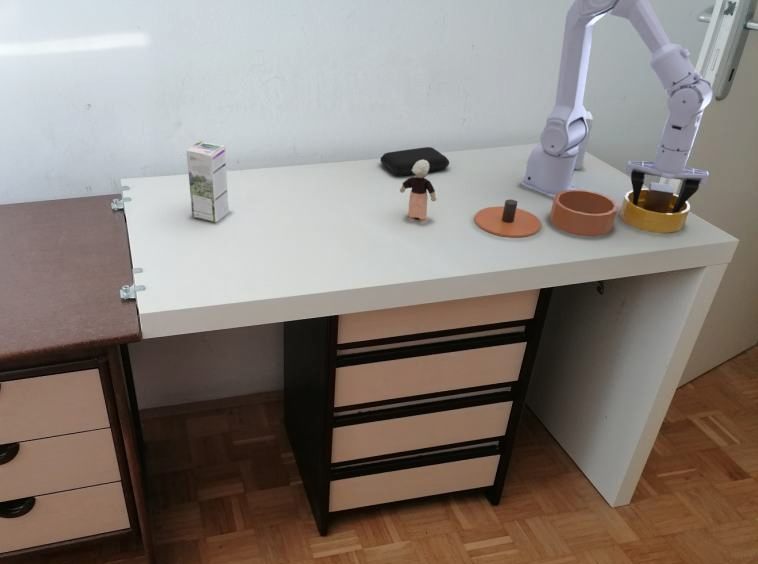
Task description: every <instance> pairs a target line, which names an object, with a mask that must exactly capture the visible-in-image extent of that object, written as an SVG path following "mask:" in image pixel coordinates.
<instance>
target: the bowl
mask: <svg viewBox="0 0 758 564" xmlns="http://www.w3.org/2000/svg"><path fill="white" fill-rule="evenodd" d="M648 189H649V188H642V189H641V192H640V195H639V199H638V204H637V206H636V205H634V204H633V189H631V190H628V191H626V193H625V195H624V197H623V201H622V204H621V206H620V207H621V208H620V211H619V217H620V218H621V220H622V221H623V222H624V223H626V224H627V225H629V226H631V227H633V228H635V229H639V230H641V231H647V232H651V233H661V234H671V233H676V232H679V231H680V230H683V229H684V226H685V224H686V221H687V218H688V215H689V213H690V209H691V204H690V203H689V201H688V200H687V201H686V202H685V203H684V205H683V206H682V208H681V209H680V211H679V212H678V213H673V208H674V205H675V203H676V201H677V198H678V196H679V194H675V193H673V196H672V199H671V202H670V205H669V208H668V211H667V213H658V212H653V211H648V210H645V209H643V205H644V201H645V198H646V195H647V192H648Z"/></svg>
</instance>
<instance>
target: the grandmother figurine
mask: <svg viewBox="0 0 758 564" xmlns="http://www.w3.org/2000/svg"><path fill="white" fill-rule="evenodd" d="M429 168H430V167H429V163H428V161H426V160H419V161H418V162H416V163H415V165H414V166H413V169H412V172H413V173H415V174H414V175H415V176H411V177H409V178H407V179H406V180H404V181H403V182H402V185H401V187H400V188H399V193H405V192H406V190H407V189H411V190H410V194H409V198H408V210H407V211H408V213H407V215H408V219H409V220H414V219H416V218H417V219H418V221H419V222H426V221H429V219H430V218H429V217H428V216H427V214H428V194H429V196H430V201H432V202H436V201H437V196H436V193H435V192H436V189H435V187H434V186H433V184H432V182H431V181H430V180H429V179H427V178H426V177H427V176H428V174H429V172H428V171H429Z"/></svg>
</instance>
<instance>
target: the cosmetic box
mask: <svg viewBox="0 0 758 564" xmlns="http://www.w3.org/2000/svg"><path fill="white" fill-rule="evenodd" d="M585 118H586V123H587V126H588V133H587V136H586V138H585V139H584V140H583V141H582V142H581V143H579V146H578V154H577V159H576V163H575V167H574V170H581V169H582V166H583V163H584V159H585V155H586V150H587V147H588V142H589V139H590V134H591V131H592V128H593V123H594V117H593V115H592V113H591V111H587V110H586V117H585Z"/></svg>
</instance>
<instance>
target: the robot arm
mask: <svg viewBox="0 0 758 564" xmlns="http://www.w3.org/2000/svg"><path fill="white" fill-rule="evenodd" d="M609 12H610V13H609ZM608 13H609V15H611V16H615V17H618V18H622V19H625V20H628V21H629V23H630V24H631V26H632V27H633V28H634V30H635V31H636V33H637V34H638V35H639V37H640V39H641V40H642V42H643V43H644V45H645V46H646V48H647V49H648V50H649V52H650V54H651V58H650V62H649V66H650V69H652V71H653V73H654V75H655V76H656V78H657V79H658V81H659V83H660V85H661V87H662V88H663V89H664V91H665V93H666V95H668V98H667V109H668V111H669V112H668V115H667V119H666V120H665V123H664V127H663V131H662V134H661V137H660V140H659V143H658V146H657V149H656V153H655V156H654V158H653V159H654V160H653V161H640V160H639V161H637V160H628V162H627V166H626V169H625V170H626V171H625V173H626V174H628V175H629V174H630V181H631V187H632V190H633V204H634V205H636V206H637V204H638V199H639V195H640V192H641V189H643V186H644V183H645V178H646V176H653V177H658V178H659V177H660V178H662V179H669V180H673V179H674V180H680V181H682V183H681V186H680V189H679V192H678V198H677V201H676V203H675V205H674V208H673V213H678V212H679V211H680V209H681V208H682V206H683V205H684V203H685V202H686V201H687V202H688V200H690V198H691V197H692V196H693V195H695V193H697V192H698V190H699V188H700V185H706V184H707V181H708V178H709V171H706V170H701V169H696V168H693V167H689V166H686V165H687V162H688V159H689V156H690V153H691V151H692V148H693V145H694V141H695V139H696V135H697V133H698V131H699V127H700V122H701V119H702V116H703V113H704V111H703V109H705V108H706V107H707V106H708V105H709V104H710V103H711V101H712V99H713V93H714V92H713V88H712V85H711V82H710V81H709V80H708V79H705V78H703V76H702V74H701V73H700V72H699V73H698V72H697V71H696V68H695V67H694V65H693V63H692V61H691V60H690V58H689V57H688V56H690V55H691V53H690V51H689V49H688V48H683V47H682V45H681V44H679V43H678V44H677V43H673V42H671V41H670V39H669V37H668V35H667V34H666V33H667V32H665V29H664V28H663V26H662V24H661V22H660V20H659V17H658V16H657V14H656V12H655V10H654V8H653V7H652V4H651V2H650V0H574V1H573V2H572V4H571V6H570V7H569V9H568V11H567V12H566V16H565V22H564V23H565V24H564V32H563V38H562V39H563V40H562V47H561V56H560V65H559V71H558V79H557V86H556V88H557V89H556V93H555V94H556V95H555V102H554V106H553V108H552V110H551V111H550V113H549V114H548V116H547V118H546V124H545V127H544V128H543V130H542V131H541V134H540V138H539V139H540V140H539V141H540V144H537V145H536V146H534V147H533V149H532V150H531V151H530V154H529V156H528V159H527V163H526V167H525V168H526V169H525V173H524V179H523V182H521V185H522V186H525V187H528V188H530V189H532V190H535V191H537V192H540V193H542V194H545V195H547V196H549V197H552V198H554V197H555V196H556V194H557V193H560V192H562V191H566V190H578V188H577V187H574V186H572V185H571V182H572V178H573V175H574V170H575V169H574V167H575V163H576V159H577V154H578V146H579V143H581V142H582V141H583V140H584V139H585V138H586V136H587V133H588V126H587V123H586V118H585V117H586V111H587V110H586V108H585V106H584V97H585V89H586V83H587V77H588V69H589V61H590V55H591V47H592V41H593V35H594V29H595V23H596V22H598V21H599V20H600V19H602V18H603V17H604V16H605V15H606V14H608Z"/></svg>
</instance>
